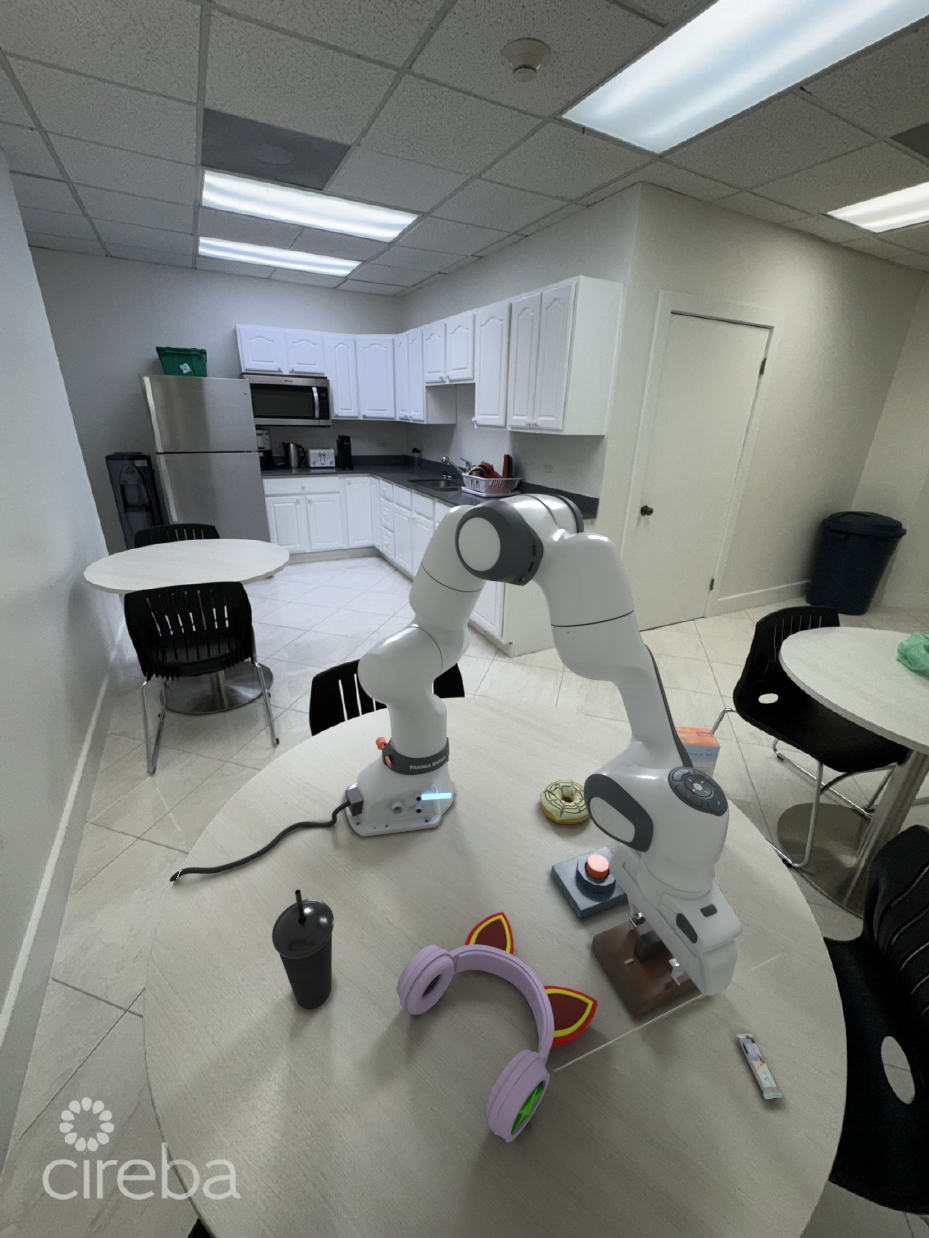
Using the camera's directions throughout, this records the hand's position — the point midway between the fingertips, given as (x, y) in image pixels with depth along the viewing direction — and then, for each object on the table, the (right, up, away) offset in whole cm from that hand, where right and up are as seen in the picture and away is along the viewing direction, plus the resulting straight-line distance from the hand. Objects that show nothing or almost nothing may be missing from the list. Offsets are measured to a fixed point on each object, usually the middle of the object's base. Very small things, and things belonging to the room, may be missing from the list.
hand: (654, 944), depth 72 cm
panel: (0, -4, +2) cm, 4 cm away
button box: (-5, +1, +14) cm, 15 cm away
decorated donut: (-7, +8, +30) cm, 32 cm away
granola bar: (+9, -9, -10) cm, 16 cm away
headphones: (-23, -6, -5) cm, 24 cm away
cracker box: (+11, +7, +28) cm, 31 cm away
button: (-5, +5, +12) cm, 14 cm away
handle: (0, -1, 0) cm, 1 cm away
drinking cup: (-49, -5, -3) cm, 49 cm away
